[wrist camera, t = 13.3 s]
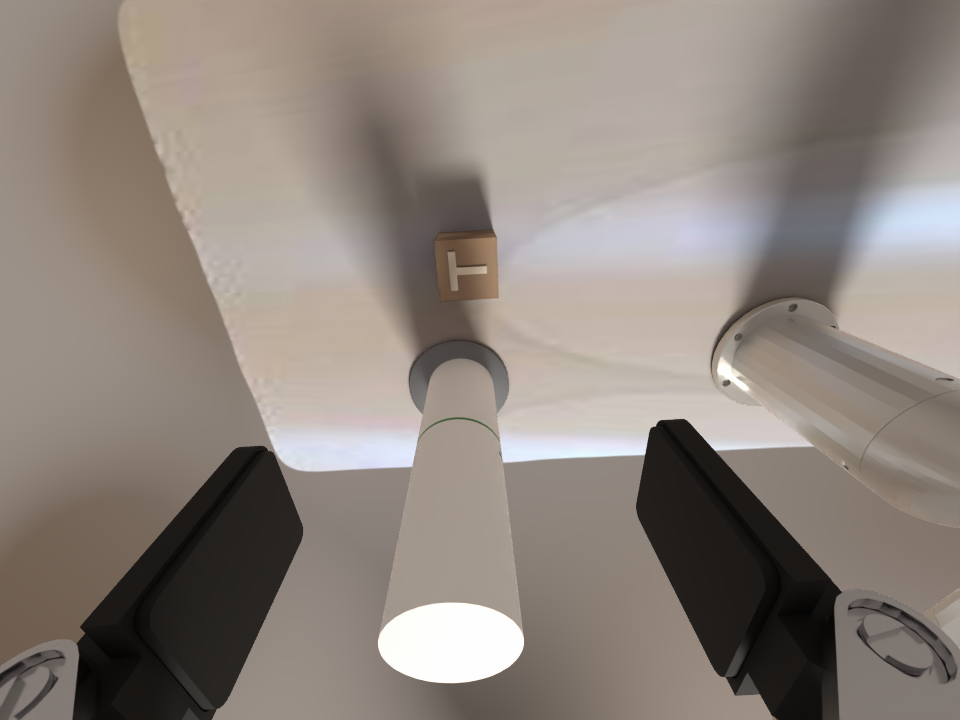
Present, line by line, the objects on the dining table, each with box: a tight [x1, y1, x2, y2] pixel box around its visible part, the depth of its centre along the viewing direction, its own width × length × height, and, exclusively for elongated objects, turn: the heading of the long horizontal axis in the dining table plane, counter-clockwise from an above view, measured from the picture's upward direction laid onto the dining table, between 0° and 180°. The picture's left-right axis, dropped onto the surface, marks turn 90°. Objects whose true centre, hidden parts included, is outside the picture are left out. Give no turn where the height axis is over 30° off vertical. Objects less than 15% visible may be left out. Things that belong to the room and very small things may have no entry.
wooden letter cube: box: [434, 230, 499, 301], centre depth 32 cm, size 5×5×5 cm
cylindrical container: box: [378, 358, 524, 683], centre depth 29 cm, size 7×7×25 cm
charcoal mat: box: [409, 340, 509, 414], centre depth 41 cm, size 11×11×1 cm
